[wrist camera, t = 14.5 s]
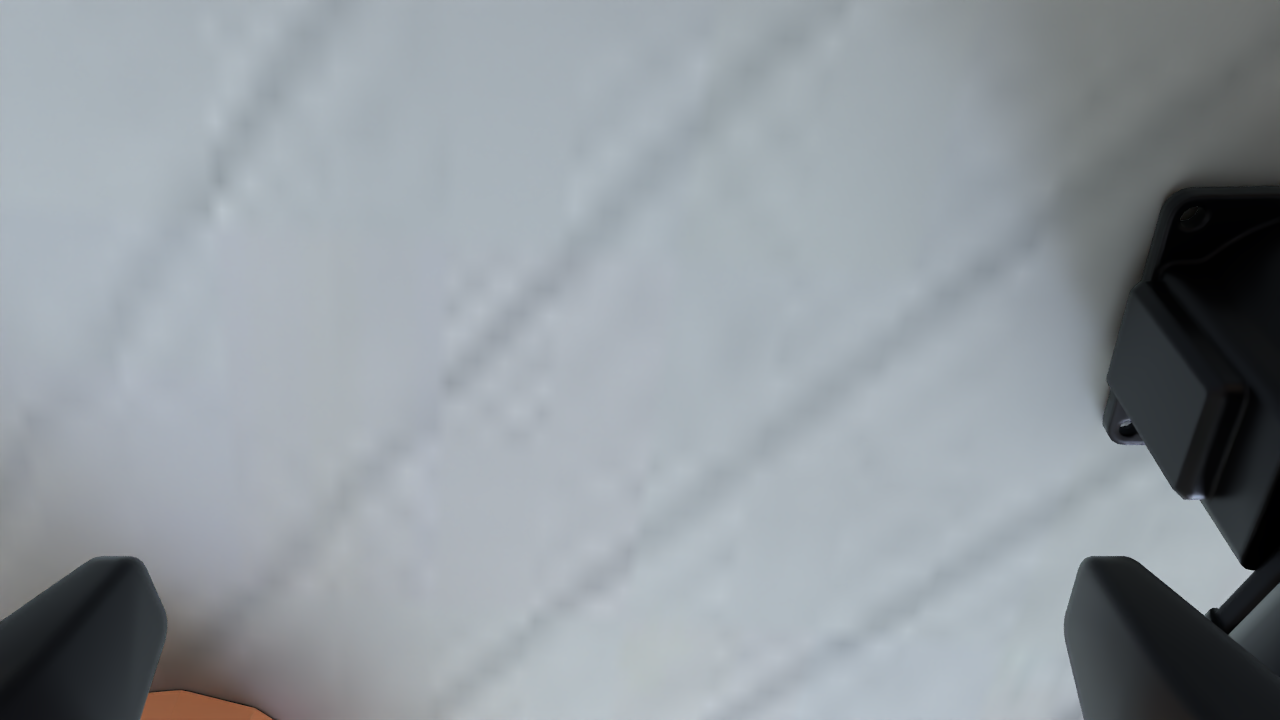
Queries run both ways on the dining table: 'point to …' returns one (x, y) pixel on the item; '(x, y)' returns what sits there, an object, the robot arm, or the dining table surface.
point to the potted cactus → (195, 708)
